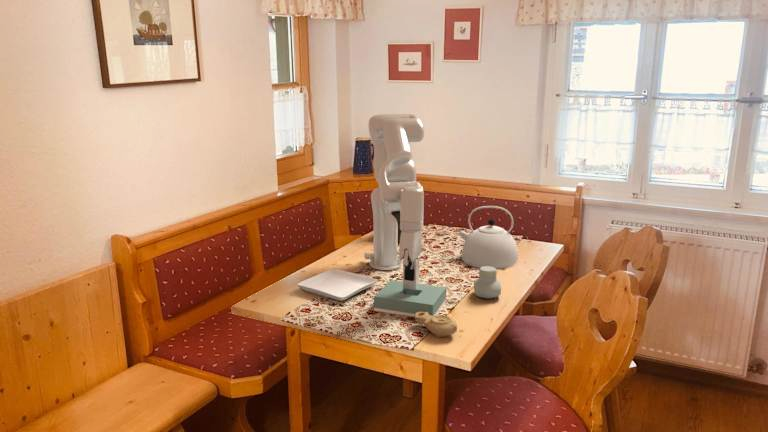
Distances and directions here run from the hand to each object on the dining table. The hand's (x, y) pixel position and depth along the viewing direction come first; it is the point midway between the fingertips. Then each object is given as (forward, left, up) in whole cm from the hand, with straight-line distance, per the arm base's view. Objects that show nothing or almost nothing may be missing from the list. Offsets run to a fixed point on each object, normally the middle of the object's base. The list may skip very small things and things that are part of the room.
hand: (410, 277), depth 207 cm
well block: (0, 0, -10) cm, 10 cm away
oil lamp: (+13, -16, -10) cm, 23 cm away
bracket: (0, 0, -3) cm, 3 cm away
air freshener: (+22, +18, -10) cm, 30 cm away
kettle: (+14, +57, -10) cm, 60 cm away
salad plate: (-29, +5, -11) cm, 31 cm away
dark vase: (-28, +72, -10) cm, 78 cm away
